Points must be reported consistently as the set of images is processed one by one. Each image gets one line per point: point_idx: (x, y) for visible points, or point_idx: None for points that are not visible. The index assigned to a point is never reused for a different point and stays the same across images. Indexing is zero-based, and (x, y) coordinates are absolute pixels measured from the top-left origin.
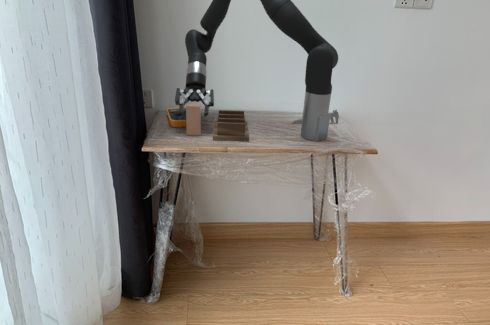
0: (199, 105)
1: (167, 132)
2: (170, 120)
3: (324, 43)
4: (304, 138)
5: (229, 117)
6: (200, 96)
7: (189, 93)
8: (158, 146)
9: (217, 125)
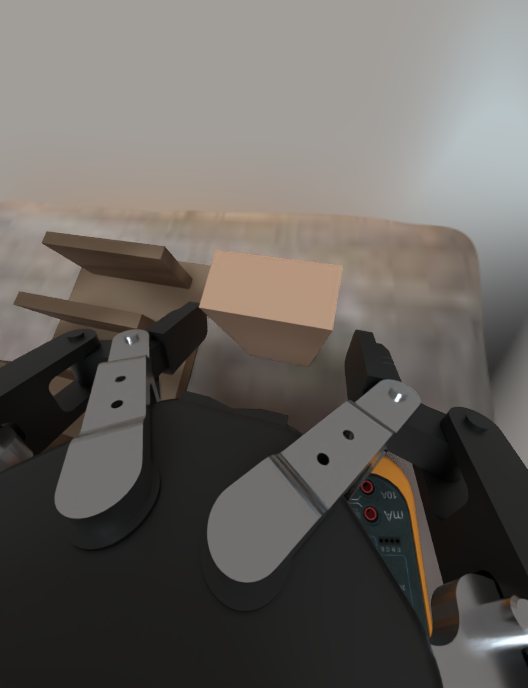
0: (215, 278)
1: (403, 381)
2: (410, 488)
3: None
4: None
5: (72, 377)
6: (143, 386)
7: (297, 469)
8: (428, 229)
9: (171, 254)
